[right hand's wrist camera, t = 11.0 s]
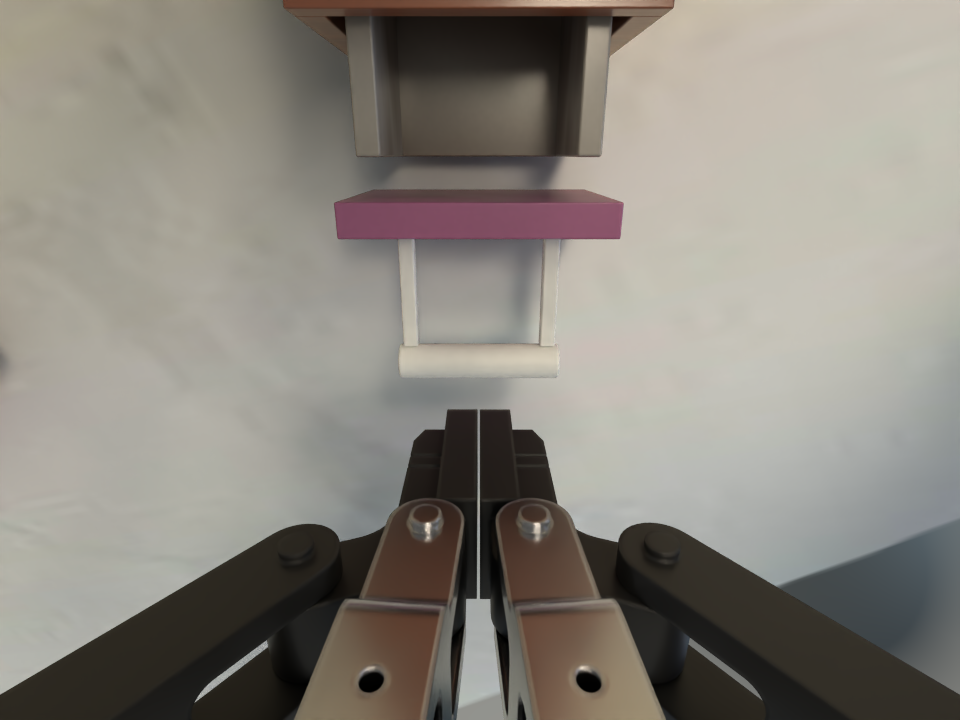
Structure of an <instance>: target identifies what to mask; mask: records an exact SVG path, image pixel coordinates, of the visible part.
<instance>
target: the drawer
mask: <svg viewBox="0 0 960 720" xmlns="http://www.w3.org/2000/svg"><path fill="white" fill-rule="evenodd" d="M612 18H613V16H345V26H346V39H347V51H348V63H349V75H350V87H351V100H352V112H353V124H354V136H355V149H356V156H357V157H396V156H563V157H600V156H601V154H602V143H603V130H604V118H605V105H606V93H607V80H608V68H609V56H610V43H611V31H612ZM623 205H624V204H623V202H620V201H617V200H614V199H611V198H608V197H605V196H602V195H599V194H596V193H593V192H590V191H587V190H371V191H368V192H365V193H362V194H359V195H356V196H353V197H350V198H347V199H344V200H341V201H338V202H335V203H334V208H335V218H336V228H337V238H338V239H398V254H399V271H400V289H401V306H402V323H403V341H404V344H401V345H400V348H399V356H398V366H399V374H400V376H401V377H402V378H556V377H558V374H559V369H560V353H559V347H558V345H557V344H555V327H556V309H557V291H558V274H559V256H560V239H620V236H621V225H622V215H623ZM415 239H543V256H542V278H541V301H540V324H539V344H419V319H418V297H417V275H416V253H415Z"/></svg>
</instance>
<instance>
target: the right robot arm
mask: <svg viewBox="0 0 960 720" xmlns="http://www.w3.org/2000/svg"><path fill="white" fill-rule="evenodd" d="M477 483H478V459H477V409H448V410H447V417H446V425H445V430H424V431H423V432H422V433H421V434H420V435H419V436H418V437H417V438H416V439H415V440H414V442H413V447H412V451H411V457H410V460H409V464H408V468H407V473H406V477H405V481H404V486H403V490H402V494H401V499H400V503H399V507H398V508H396V509H395V510H394V511H393V512H392V513H391V515H390V516H389V518H388V520H387V523H386V526H384V527H383V528H381V529H380V530H378V531H376V532H374V533H371V534H369V535H366V536H363V537H359V538H355V539H351V540H346V541H342V542H339V538H338V536H337V535H336V533H335V532H334V531H332V530H331V529H329V528H328V527H325V526H322V525H317V524H301V525H295V526H291V527H288V528H285V529H283V530H280V531H278V532H276V533H274V534H272V535H271V536H269V537H267V538H266V539H264V540H262V541H261V542H259V543H257V544H255V545H254V546H252V547H250V548H249V549H247V550H245V551H244V552H242V553H240V554H238V555H237V556H235V557H233V558H232V559H230V560H228V561H227V562H225V563H223V564H222V565H220V566H218V567H216V568H215V569H213V570H211V571H210V572H208V573H206V574H205V575H203V576H201V577H199V578H198V579H196V580H194V581H193V582H191V583H189V584H188V585H186V586H184V587H182V588H181V589H179V590H177V591H176V592H174V593H172V594H171V595H169V596H167V597H165V598H164V599H162V600H160V601H159V602H157V603H155V604H154V605H152V606H150V607H148V608H147V609H145V610H143V611H142V612H140V613H138V614H137V615H135V616H133V617H131V618H130V619H128V620H126V621H125V622H123V623H121V624H120V625H118V626H116V627H115V628H113V629H111V630H109V631H108V632H106V633H104V634H103V635H101V636H99V637H98V638H96V639H94V640H92V641H91V642H89V643H87V644H86V645H84V646H82V647H81V648H79V649H77V650H75V651H74V652H72V653H70V654H69V655H67V656H65V657H64V658H62V659H60V660H58V661H57V662H55V663H53V664H52V665H50V666H48V667H47V668H45V669H43V670H41V671H40V672H38V673H36V674H35V675H33V676H31V677H30V678H28V679H26V680H24V681H23V682H21V683H19V684H18V685H16V686H14V687H13V688H11V689H9V690H8V691H6V692H4V693H2V694H1V695H0V720H456V718H457V709H458V700H459V692H460V683H461V675H462V666H463V657H464V649H465V640H466V599H477ZM480 599H490V602H491V619H492V622H493V625H494V640H495V649H496V657H497V666H498V675H499V683H500V692H501V700H502V709H503V718H504V720H960V695H959V694H958V693H956V692H954V691H952V690H951V689H949V688H947V687H946V686H944V685H942V684H941V683H939V682H937V681H935V680H934V679H932V678H930V677H929V676H927V675H925V674H924V673H922V672H920V671H918V670H917V669H915V668H913V667H912V666H910V665H908V664H907V663H905V662H903V661H902V660H900V659H898V658H896V657H895V656H893V655H891V654H890V653H888V652H886V651H884V650H883V649H881V648H879V647H878V646H876V645H874V644H873V643H871V642H869V641H868V640H866V639H864V638H862V637H861V636H859V635H857V634H856V633H854V632H852V631H851V630H849V629H847V628H845V627H844V626H842V625H840V624H839V623H837V622H835V621H834V620H832V619H830V618H828V617H827V616H825V615H823V614H822V613H820V612H818V611H817V610H815V609H813V608H812V607H810V606H808V605H806V604H805V603H803V602H801V601H800V600H798V599H796V598H795V597H793V596H791V595H789V594H788V593H786V592H784V591H783V590H781V589H779V588H778V587H776V586H774V585H772V584H771V583H769V582H767V581H766V580H764V579H762V578H761V577H759V576H757V575H755V574H754V573H752V572H750V571H749V570H747V569H745V568H744V567H742V566H740V565H738V564H737V563H735V562H733V561H732V560H730V559H728V558H727V557H725V556H723V555H721V554H720V553H718V552H716V551H715V550H713V549H711V548H710V547H708V546H706V545H705V544H703V543H701V542H699V541H698V540H696V539H694V538H693V537H691V536H689V535H688V534H686V533H684V532H682V531H680V530H678V529H676V528H673V527H671V526H667V525H663V524H658V523H641V524H636V525H633V526H630V527H628V528H627V529H626V530H624V531H623V532H622V534H621V535H620V538H619V542H614V541H609V540H605V539H601V538H596V537H593V536H589V535H587V534H584V533H582V532H580V531H578V530H576V529H575V526H574V523H573V520H572V518H571V516H570V515H569V513H568V512H567V511H566V510H565V509H564V508H562V507H561V506H559V505H558V504H557V500H556V495H555V491H554V486H553V482H552V477H551V473H550V468H549V464H548V459H547V457H546V450H545V446H544V441H543V440H542V439H541V438H540V437H539V436H538V435H537V434H536V433H535V432H534V431H533V430H512V423H511V415H510V410H480ZM690 638H691V639H693V640H694V641H695V642H697V643H698V644H699V645H701V646H702V647H703V648H705V649H706V650H707V651H709V652H710V653H712V654H713V655H714V656H716V657H717V658H718V659H720V660H721V661H722V662H724V663H725V664H726V665H728V666H729V667H730V668H732V669H733V670H734V671H736V672H737V673H738V674H740V675H741V676H742V677H744V678H745V679H746V680H747V681H748V682H749V683H750V684H751V685H752V686H753V687H754V688H755V689H756V690H757V692H758V693H759V695H760V696H761V698H762V700H763V701H762V700H761V699H760V698H758V697H757V696H756V695H754V694H753V693H752V692H750V691H749V690H748V689H746V688H745V687H744V686H742V685H741V684H740V683H739V682H737V681H736V680H735V679H733V678H732V677H731V676H729V675H728V674H727V673H725V672H724V671H723V670H721V669H720V668H719V667H717V666H716V665H715V664H713V663H712V662H711V661H709V660H708V659H707V658H706V657H704V656H703V655H702V654H700V653H699V652H698V651H696V650H695V649H694V648H692V647H691V646H690V645H688V643H689V639H690ZM266 640H267V643H268V648H266V649H265V650H264V651H262V652H261V653H260V654H258V655H257V656H256V657H254V658H253V659H252V660H250V661H249V662H248V663H247V664H245V665H244V666H243V667H241V668H240V669H239V670H237V671H236V672H235V673H233V674H232V675H231V676H229V677H228V678H227V679H225V680H224V681H223V682H221V683H220V684H219V685H218V686H216V687H215V688H214V689H212V690H211V691H210V692H208V693H207V694H206V695H204V696H203V697H202V698H200V699H199V700H198V701H196V702H195V700H196V699H197V697H198V696H199V694H200V693H201V691H202V690H203V689H204V688H205V687H206V686H207V685H208V684H209V683H210V682H211V681H212V680H214V679H215V678H216V677H218V676H219V675H220V674H222V673H223V672H224V671H226V670H227V669H228V668H230V667H231V666H232V665H234V664H235V663H236V662H238V661H239V660H240V659H242V658H243V657H244V656H246V655H247V654H248V653H250V652H251V651H253V650H254V649H255V648H257V647H258V646H259V645H261V644H262V643H263V642H265V641H266ZM194 702H195V703H194Z"/></svg>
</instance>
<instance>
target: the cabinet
mask: <svg viewBox="0 0 960 720" xmlns="http://www.w3.org/2000/svg"><path fill="white" fill-rule="evenodd" d="M283 6H284V9H286V10H287V11H288V12H290V13H291V14H292V15H294V16H295V17H296V18H298V19H299V20H300V21H302V22H303V23H304V24H306V25H307V26H308V27H310V28H311V29H312V30H314V31H315V32H316V33H318V34H319V35H320V36H322V37H323V38H325V39H326V40H327V41H329V42H330V43H331V44H333V45H334V46H335V47H337V48H338V49H339V50H341V51H342V52H343V53H345V54H346V55H347V56H348V51H347V39H346V26H345V16H613V18H612V31H611V43H610V56H611V55H612V54H613V53H615V52H616V51H617V50H619V49H620V48H621V47H623V46H624V45H625V44H627V43H628V42H629V41H630V40H632V39H633V38H634V37H636V36H637V35H638V34H640V33H641V32H642V31H644V30H645V29H646V28H648V27H649V26H650V25H652V24H653V23H654V22H656V21H657V20H658V19H659V18H661V17H662V16H664V15H665V14H666V13H668V12H669V11H670V10H671V9H673V7H674V0H283ZM610 56H609V57H610Z"/></svg>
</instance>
